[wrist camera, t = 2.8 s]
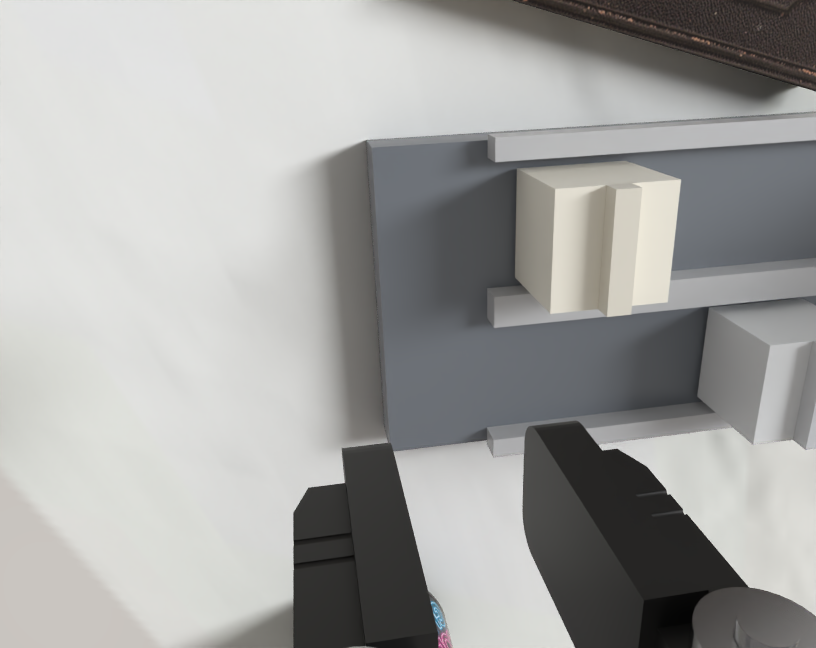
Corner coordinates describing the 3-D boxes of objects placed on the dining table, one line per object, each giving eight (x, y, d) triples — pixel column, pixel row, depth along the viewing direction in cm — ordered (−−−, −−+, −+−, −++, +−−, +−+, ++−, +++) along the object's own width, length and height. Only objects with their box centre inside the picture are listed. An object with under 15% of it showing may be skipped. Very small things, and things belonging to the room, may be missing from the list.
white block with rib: (709, 307, 27) (783, 354, 23) (801, 298, 28) (890, 342, 23) (696, 396, 29) (765, 455, 24) (784, 386, 29) (865, 441, 25)
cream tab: (516, 168, 24) (563, 193, 20) (625, 160, 24) (693, 183, 20) (514, 277, 25) (558, 322, 21) (617, 268, 26) (678, 309, 22)
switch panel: (365, 134, 25) (374, 145, 22) (953, 98, 28) (1025, 103, 25) (384, 430, 29) (394, 470, 27) (884, 371, 32) (939, 401, 30)
